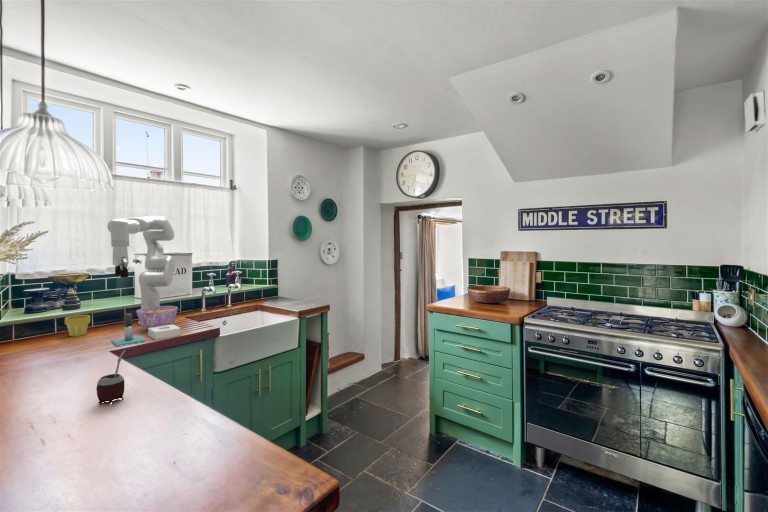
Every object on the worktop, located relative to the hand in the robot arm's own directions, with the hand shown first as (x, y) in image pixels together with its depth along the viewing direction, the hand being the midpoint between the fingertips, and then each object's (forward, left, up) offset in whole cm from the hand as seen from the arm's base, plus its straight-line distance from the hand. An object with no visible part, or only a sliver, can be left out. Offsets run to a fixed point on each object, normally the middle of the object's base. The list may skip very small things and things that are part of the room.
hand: (121, 276), depth 187 cm
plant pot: (-22, -15, -32) cm, 42 cm away
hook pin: (+12, 0, -31) cm, 33 cm away
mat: (+12, 0, -32) cm, 34 cm away
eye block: (+12, +16, -32) cm, 37 cm away
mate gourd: (+87, -21, -32) cm, 95 cm away
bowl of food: (-6, +18, -32) cm, 37 cm away
